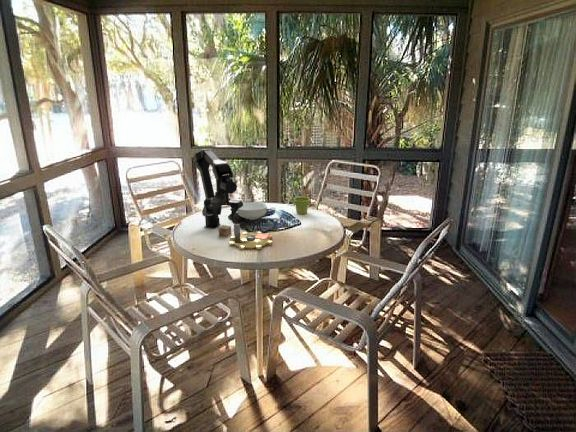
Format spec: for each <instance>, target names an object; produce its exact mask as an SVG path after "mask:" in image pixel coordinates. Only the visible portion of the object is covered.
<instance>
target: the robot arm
mask: <svg viewBox="0 0 576 432" xmlns="http://www.w3.org/2000/svg"><path fill="white" fill-rule="evenodd" d="M192 161H193V164H194V166H195V168H196V169H197V170H198V171H199V173H200V174H199V175H200V178H201V179H200V180H201V182H202V186H203V188H202V189H203V192H204V196H205V199H204V200H203V208H202V210H201V213H202V214H201V215H202V216H203V217H204V219H205V224H204V226H203V227H204V228H210V229H216V228H219V227H220V226H222V225H221V223H220V215H221V213H222V206H229V207H230V209H229V210H230V213H231V222H233V221H234V220H235V217H236V214H238V212H237V211H238V209H239V208H241V207H242V206H243V203H244V202H243V200H239V199H238V200H237V199H234V200H233V201H231V198H230V194H234V193H235V192H236V191H237V190H238V189H237V188H238V185H237V183H236V182H235V181H233V179H234V172H233V170H232V168H231V165H230V164H229V163H228V162H227V161H225V160H222V159H220V158H219V157H218V156H217V155H216V154H215V153H214V152H213V150H212V149H211V148H202V149H201V150H200V151H198V152H196V153H195V154H193V156H192ZM210 166H211V168H212V172H213V175H214V179H215V185H216V186H215V187H216V188H215V189H216V191H215V192H214V187H213V186H214V185H213V182H212V177H211V173H210V169H209V168H210Z"/></svg>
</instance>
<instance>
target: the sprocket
mask: <svg viewBox="0 0 576 432" xmlns="http://www.w3.org/2000/svg"><path fill="white" fill-rule="evenodd" d="M229 237H230V241H229V242H228V245H229V246H230V247H231V246H234V247H236V248H238V250H246V249H247V250H249V249H255V250H261V249H262V248H263V247H265V246H268V245H269V246H272V245H273V240H272V239H273V235H272V234H266V233H263V232H262V231H256V232H255V231H254V232H252V231H251V232H247V231H243V232H242V231H241V223H234V224H233V235H230V236H229Z"/></svg>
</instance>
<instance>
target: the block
mask: <svg viewBox="0 0 576 432" xmlns="http://www.w3.org/2000/svg"><path fill="white" fill-rule="evenodd" d="M231 236H232V226H231V225H226V224H222V225H220V226H218V237H221V238H228V237H231Z"/></svg>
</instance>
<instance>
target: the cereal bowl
mask: <svg viewBox="0 0 576 432" xmlns="http://www.w3.org/2000/svg"><path fill="white" fill-rule="evenodd" d="M267 211H268V205H267V204H266V203H263V202H259V201H255V202H254V201H252V202H251V201H250V202H249V201H248V202H243V206H242V207H241V208H239V209H238V211H237V214H238V215H239V216H240V217H241V218H244V219H246V220H248V219H249V220H250V221H254V220H258V219H260V218H261V217H264V216H265V215H266V213H267ZM249 220H248V221H249Z"/></svg>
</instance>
